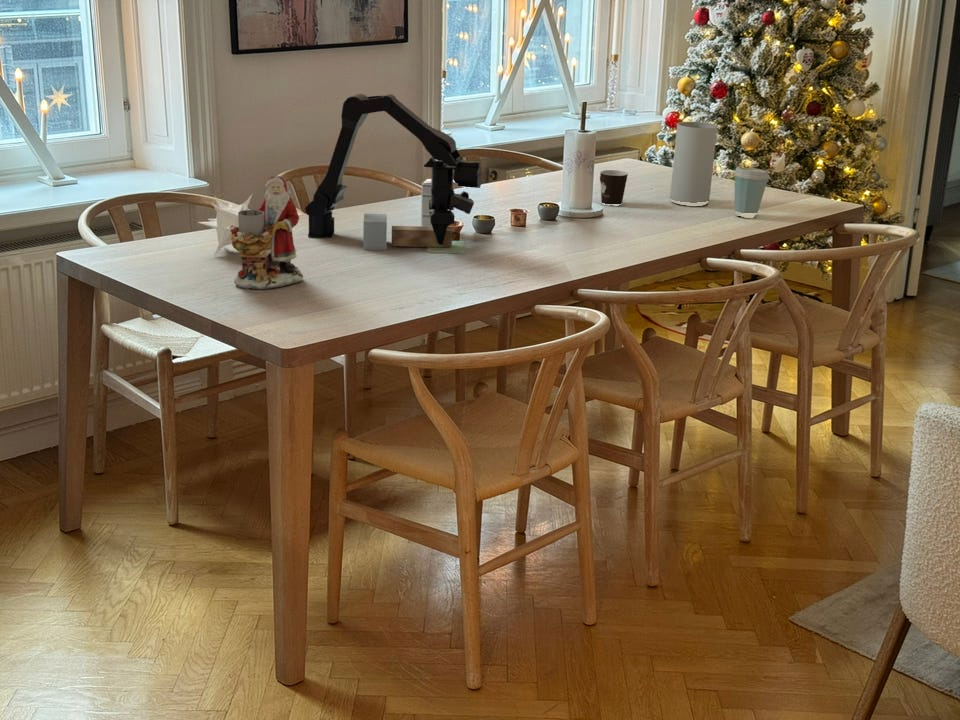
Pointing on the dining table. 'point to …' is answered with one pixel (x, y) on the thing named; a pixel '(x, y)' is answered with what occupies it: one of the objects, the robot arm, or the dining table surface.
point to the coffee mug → (612, 186)
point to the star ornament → (225, 221)
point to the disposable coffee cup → (749, 189)
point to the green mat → (449, 248)
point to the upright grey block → (375, 231)
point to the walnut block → (419, 236)
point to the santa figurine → (267, 240)
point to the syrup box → (426, 203)
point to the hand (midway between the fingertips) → (440, 242)
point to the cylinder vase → (693, 162)
